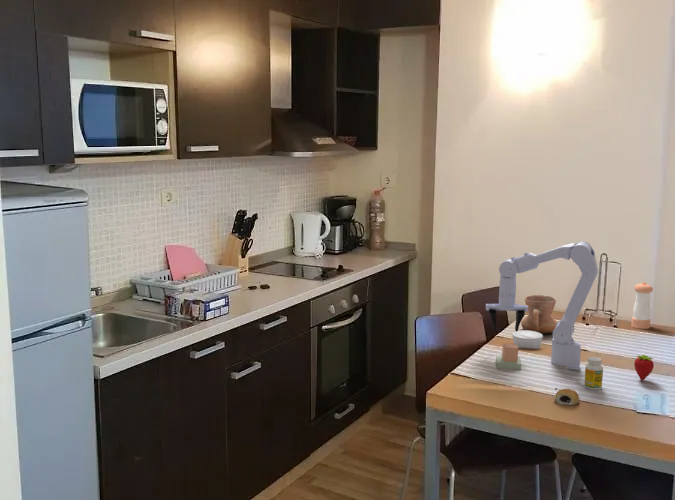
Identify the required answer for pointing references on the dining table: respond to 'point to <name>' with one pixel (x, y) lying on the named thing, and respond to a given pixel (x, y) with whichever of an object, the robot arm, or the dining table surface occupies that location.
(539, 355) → the dining table surface
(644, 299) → the pepper shaker
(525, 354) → the dining table surface
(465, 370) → the dining table surface
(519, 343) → the ramekin
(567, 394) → the pastry
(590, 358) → the supplement bottle
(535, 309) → the ceramic jug
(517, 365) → the tower top
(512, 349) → the terracotta block
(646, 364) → the strawberry
